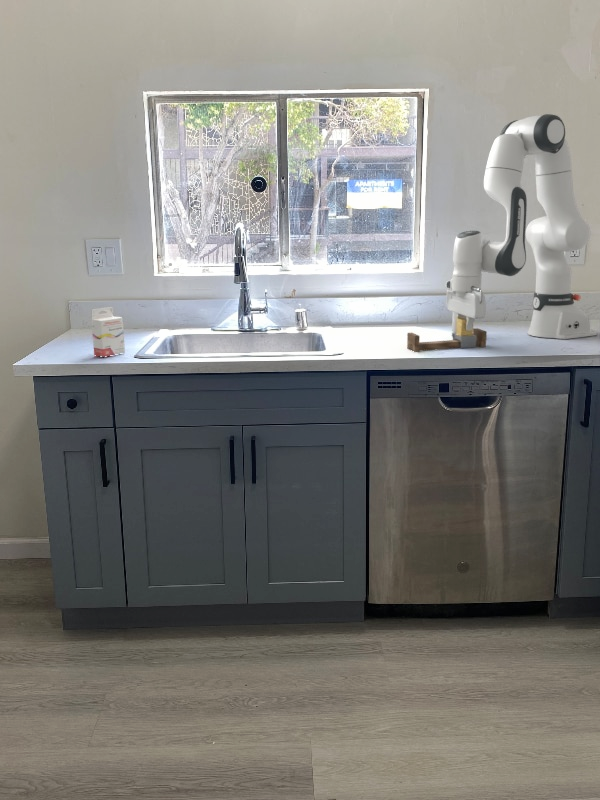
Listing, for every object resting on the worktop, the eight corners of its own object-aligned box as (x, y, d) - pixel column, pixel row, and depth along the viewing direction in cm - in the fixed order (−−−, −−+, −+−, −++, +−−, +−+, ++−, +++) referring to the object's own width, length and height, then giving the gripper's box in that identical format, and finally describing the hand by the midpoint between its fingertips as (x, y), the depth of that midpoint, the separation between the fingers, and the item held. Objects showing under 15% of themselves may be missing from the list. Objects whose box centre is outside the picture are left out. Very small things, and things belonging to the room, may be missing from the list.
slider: (466, 343, 235) (467, 316, 233) (475, 346, 229) (477, 319, 227) (452, 344, 234) (453, 317, 232) (461, 348, 228) (462, 320, 226)
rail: (476, 343, 236) (477, 328, 235) (485, 347, 230) (486, 331, 229) (407, 348, 231) (407, 332, 229) (414, 352, 225) (414, 336, 224)
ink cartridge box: (103, 358, 225) (99, 310, 221) (93, 356, 228) (89, 309, 224) (126, 353, 231) (122, 307, 227) (116, 352, 234) (112, 306, 230)
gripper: (492, 288, 218) (489, 333, 221) (461, 281, 237) (459, 323, 241) (472, 289, 216) (470, 335, 220) (443, 282, 235) (441, 324, 239)
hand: (464, 329), depth 230 cm, fingers closed on slider, 3 cm apart
